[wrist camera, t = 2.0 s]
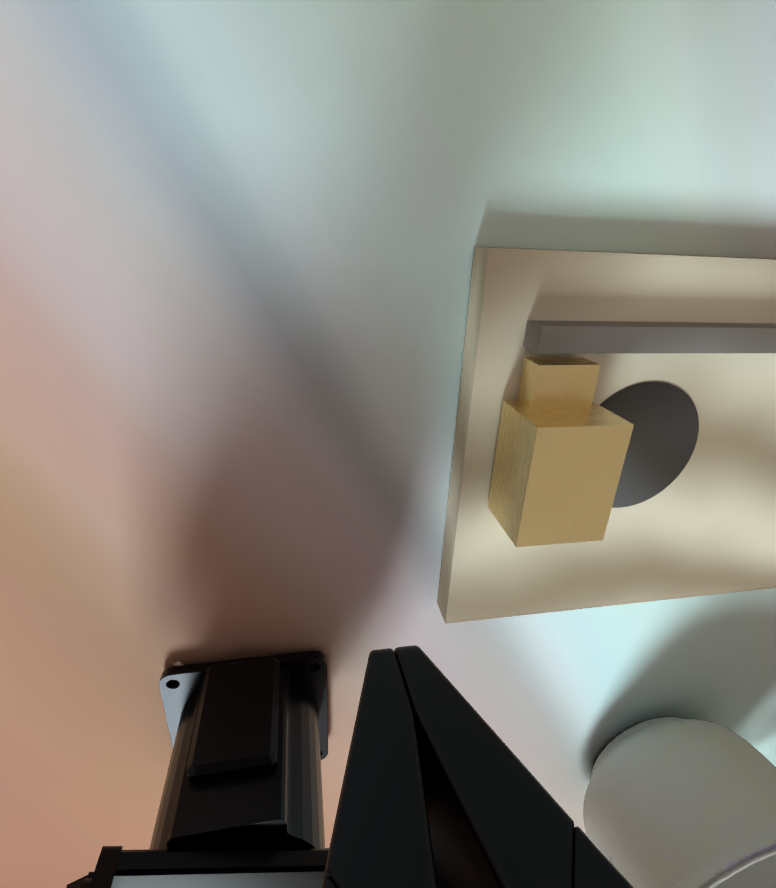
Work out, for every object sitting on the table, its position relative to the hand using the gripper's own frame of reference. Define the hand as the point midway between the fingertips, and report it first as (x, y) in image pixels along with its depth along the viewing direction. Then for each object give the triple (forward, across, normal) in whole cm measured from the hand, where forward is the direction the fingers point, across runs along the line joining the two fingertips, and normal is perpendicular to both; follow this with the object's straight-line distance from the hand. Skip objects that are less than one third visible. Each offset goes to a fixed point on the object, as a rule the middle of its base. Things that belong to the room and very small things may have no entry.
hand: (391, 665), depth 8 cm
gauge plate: (+9, -14, 0) cm, 16 cm away
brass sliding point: (+8, -7, 0) cm, 10 cm away
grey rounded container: (+10, -19, +21) cm, 30 cm away
